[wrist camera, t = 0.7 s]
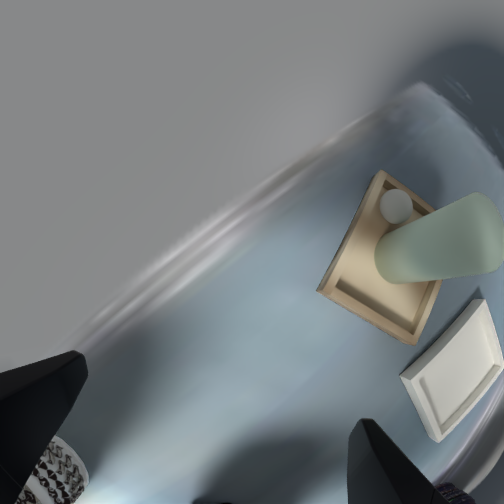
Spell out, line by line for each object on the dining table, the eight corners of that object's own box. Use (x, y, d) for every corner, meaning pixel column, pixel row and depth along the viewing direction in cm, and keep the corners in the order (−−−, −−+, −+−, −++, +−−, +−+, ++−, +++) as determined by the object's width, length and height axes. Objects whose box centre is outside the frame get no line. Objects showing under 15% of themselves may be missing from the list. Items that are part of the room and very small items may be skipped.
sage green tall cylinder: (422, 273, 22) (512, 257, 12) (383, 292, 22) (475, 285, 11) (406, 226, 23) (490, 186, 12) (366, 240, 23) (449, 201, 12)
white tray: (428, 436, 21) (438, 443, 19) (399, 375, 22) (410, 380, 20) (494, 364, 22) (505, 366, 20) (472, 299, 23) (485, 298, 21)
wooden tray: (403, 342, 22) (415, 345, 20) (315, 291, 23) (322, 290, 21) (446, 233, 24) (458, 229, 22) (372, 177, 24) (381, 169, 22)
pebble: (406, 222, 23) (424, 214, 20) (381, 231, 23) (398, 223, 20) (394, 192, 23) (410, 180, 20) (368, 199, 23) (384, 188, 20)
